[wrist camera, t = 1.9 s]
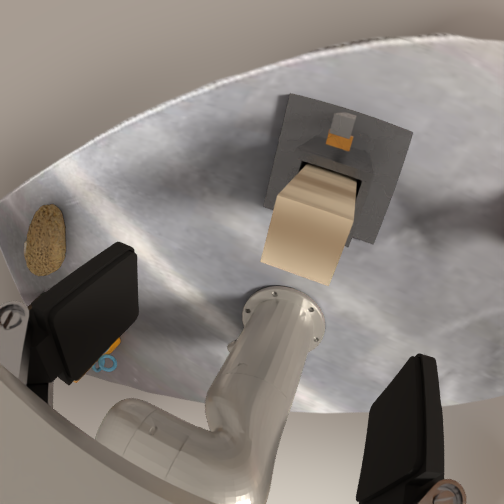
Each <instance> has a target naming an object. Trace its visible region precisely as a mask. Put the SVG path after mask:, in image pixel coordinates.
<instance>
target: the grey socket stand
mask: <svg viewBox="0 0 504 504" xmlns="http://www.w3.org/2000/svg"><path fill="white" fill-rule="evenodd" d="M412 135H413V132H411V131H408V130H406V129H403V128H401V127H398V126H396V125H393V124H390V123H388V122H385V121H382V120H379V119H376V118H374V117H371V116H368V115H365V114H362V113H359V112H356V111H353V110H349V109H346V108H343V107H340V106H336V105H333V104H330V103H326V102H322V101H319V100H315V99H311V98H308V97H304V96H300V95H296V94H291V93H290V95H289V99H288V104H287V108H286V112H285V116H284V121H283V125H282V129H281V133H280V138H279V142H278V146H277V150H276V155H275V159H274V163H273V167H272V172H271V176H270V180H269V184H268V189H267V193H266V197H265V201H264V206H263V207H266V208H269V209H272V210H274V206H275V202H276V198H277V195H278V194H279V193H280V192H281V191H282V190H283V189H284V188H285V187H286V186H287V184H288V183H289V182H290V181H291V180H292V179H293V178H294V177H295V176H296V175H297V174H298V173H299V172H300V171H301V170H302V169H303V168H304V167H305V166H306V165H307V164H308V163H311V164H314V165H317V166H320V167H324V168H327V169H330V170H333V171H336V172H339V173H342V174H345V175H348V176H350V177H353V178H356V179H357V183H356V198H355V211H354V221H353V224H352V227H351V230H350V232H349V235H348V238H347V240H346V243H345V246H346V247H349V244H350V242H351V239H352V237H354V238H357V239H359V240H362V241H365V242H368V243H370V244H374V241H375V239H376V237H377V234H378V232H379V229H380V227H381V224H382V221H383V219H384V216H385V214H386V211H387V208H388V206H389V203H390V200H391V198H392V195H393V192H394V189H395V187H396V184H397V181H398V178H399V175H400V172H401V169H402V166H403V163H404V160H405V157H406V154H407V151H408V148H409V145H410V141H411V138H412Z"/></svg>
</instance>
